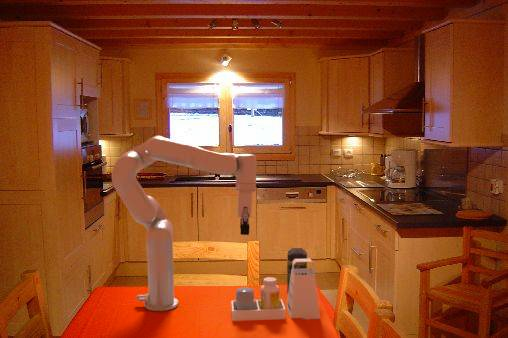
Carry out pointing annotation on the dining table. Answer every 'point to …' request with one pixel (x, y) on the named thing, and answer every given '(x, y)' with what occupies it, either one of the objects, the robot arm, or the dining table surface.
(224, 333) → the dining table surface
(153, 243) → the robot arm
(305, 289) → the grater
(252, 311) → the caddy
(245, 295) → the grey smooth round piece
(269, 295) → the supplement bottle
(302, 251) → the coffee jar
